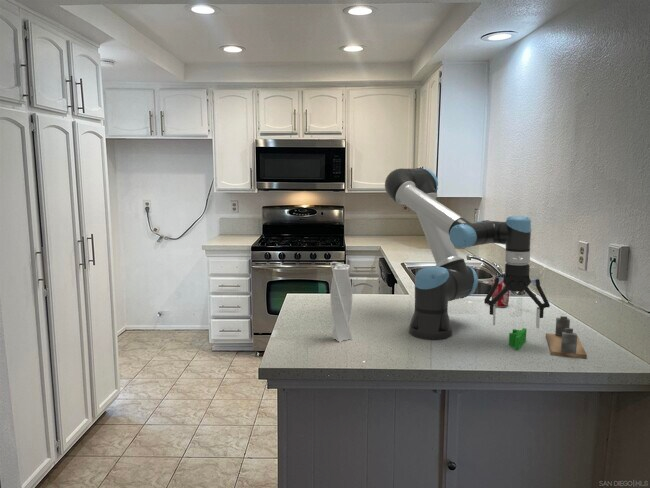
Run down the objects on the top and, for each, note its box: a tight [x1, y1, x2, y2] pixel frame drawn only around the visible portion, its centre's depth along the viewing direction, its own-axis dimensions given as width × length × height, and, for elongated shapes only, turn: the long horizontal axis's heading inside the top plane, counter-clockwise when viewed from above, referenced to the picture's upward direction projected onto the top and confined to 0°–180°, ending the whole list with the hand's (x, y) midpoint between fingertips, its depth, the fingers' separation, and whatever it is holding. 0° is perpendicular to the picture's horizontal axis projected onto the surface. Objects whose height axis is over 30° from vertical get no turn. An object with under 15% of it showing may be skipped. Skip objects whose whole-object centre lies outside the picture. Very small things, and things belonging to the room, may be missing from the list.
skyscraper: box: [329, 261, 353, 342], centre depth 168 cm, size 8×7×28 cm
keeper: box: [545, 315, 588, 359], centre depth 159 cm, size 10×18×8 cm, turn 161°
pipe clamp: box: [508, 327, 528, 351], centre depth 162 cm, size 11×4×5 cm, turn 146°
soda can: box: [490, 277, 510, 309], centre depth 207 cm, size 7×7×12 cm
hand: (515, 325), depth 162 cm, fingers open, 13 cm apart
